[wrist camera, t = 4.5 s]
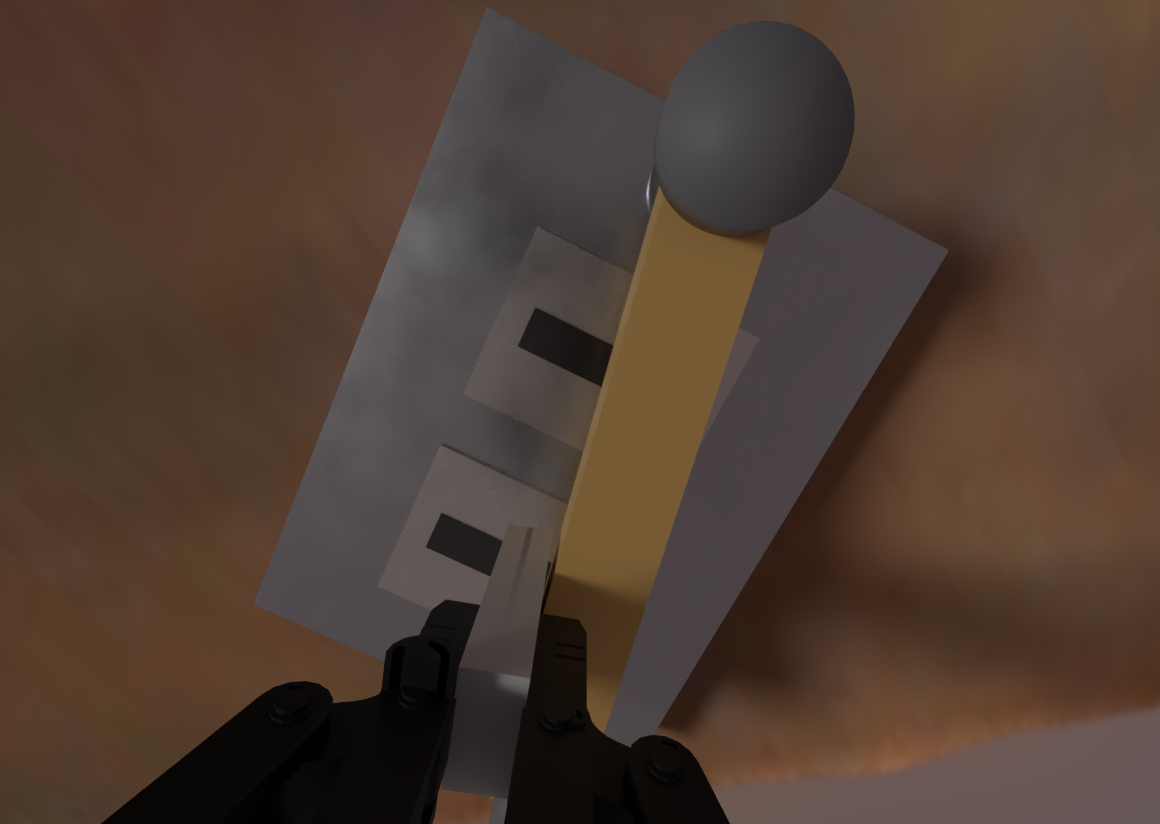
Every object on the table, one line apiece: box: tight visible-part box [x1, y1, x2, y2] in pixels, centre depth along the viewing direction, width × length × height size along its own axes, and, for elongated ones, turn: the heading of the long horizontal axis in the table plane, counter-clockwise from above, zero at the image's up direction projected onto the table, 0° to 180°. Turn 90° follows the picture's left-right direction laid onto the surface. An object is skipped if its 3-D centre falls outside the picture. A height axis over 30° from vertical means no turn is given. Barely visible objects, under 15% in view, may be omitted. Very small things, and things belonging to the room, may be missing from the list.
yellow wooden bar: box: [489, 21, 855, 824], centre depth 14 cm, size 20×4×5 cm, turn 165°
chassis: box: [254, 7, 949, 747], centre depth 19 cm, size 22×16×5 cm
